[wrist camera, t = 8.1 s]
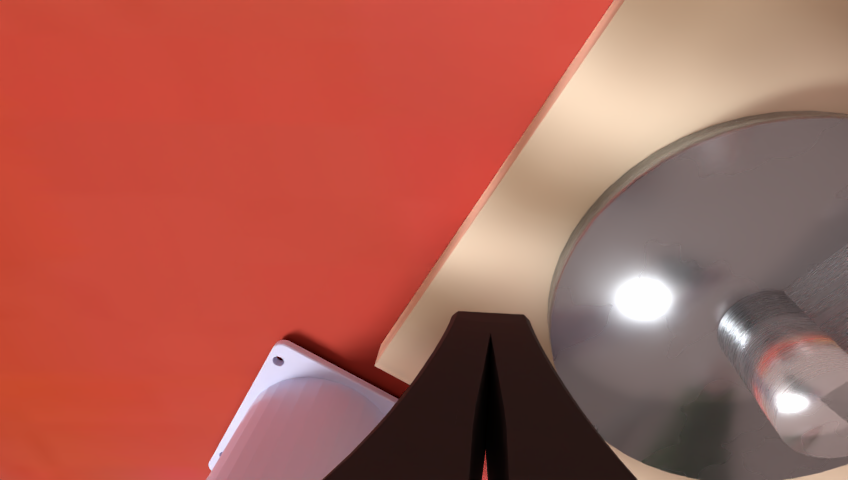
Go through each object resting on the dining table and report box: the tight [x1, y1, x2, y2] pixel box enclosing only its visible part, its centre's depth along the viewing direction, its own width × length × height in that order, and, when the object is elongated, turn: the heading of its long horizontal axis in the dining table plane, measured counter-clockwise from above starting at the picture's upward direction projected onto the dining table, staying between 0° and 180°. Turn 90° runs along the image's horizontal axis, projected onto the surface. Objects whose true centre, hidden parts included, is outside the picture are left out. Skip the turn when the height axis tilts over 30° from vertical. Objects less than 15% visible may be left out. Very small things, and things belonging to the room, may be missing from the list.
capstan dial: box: [547, 110, 848, 480], centre depth 15 cm, size 17×14×5 cm
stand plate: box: [374, 0, 848, 480], centre depth 19 cm, size 20×20×2 cm
